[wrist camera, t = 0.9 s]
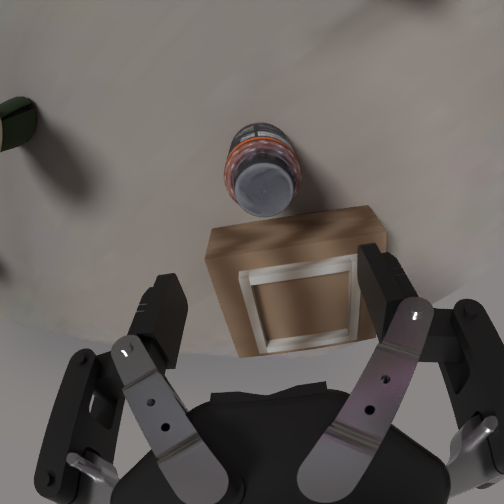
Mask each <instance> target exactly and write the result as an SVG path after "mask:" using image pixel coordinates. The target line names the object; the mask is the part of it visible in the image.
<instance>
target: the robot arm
mask: <svg viewBox="0 0 504 504" xmlns="http://www.w3.org/2000/svg"><path fill="white" fill-rule="evenodd" d="M357 279H358V284H359V288H360V290H361V293H362V296H363V298H364V301H365V304H366V306H367V309H368V312H369V314H370V317H371V320H372V323H373V325H374V328H375V331H376V334H377V337H378V339H379V343H378V345H377V346H376V348H375V350H374V353H373V354H372V356H371V358H370V360H369V362H368V364H367V366H366V368H365V369H364V371H363V373H362V375H361V377H360V378H359V380H358V382H357V384H356V386H355V388H354V389H353V391H352V392H351V394H348V393H346V392H343V391H339V390H333V389H327V385H326V381H324V382H318V383H311V384H304V385H297V386H295V387H292V388H289V389H286V390H283V391H280V392H277V393H274V394H271V395H258V394H250V393H244V392H224V393H211V398H210V401H209V402H206V403H203V404H201V405H199V406H197V407H195V408H194V409H192V410H190V411H188V409H187V408H186V407H185V405H184V404H183V402H182V401H181V399H180V398H179V396H178V395H177V393H176V392H175V390H174V389H173V387H172V386H171V384H170V382H169V381H168V379H167V378H166V376H165V371H166V369H175V367H176V363H177V357H178V353H179V348H180V344H181V339H182V335H183V330H184V326H185V321H186V317H187V312H188V303H187V299H186V297H185V294H184V292H183V290H182V287H181V285H180V283H179V280H178V278H177V276H176V274H175V273H170V274H164V275H158V276H157V278H156V281H155V283H154V286H153V287H150V288H149V289H148V290H147V291H146V292H145V293H144V294H143V296H142V298H141V301H140V303H139V306H138V308H137V312H136V313H135V316H134V319H133V321H132V324H131V326H130V329H129V332H128V334H127V335H126V336H123V337H121V338H120V339H118V340H117V341H116V342H115V343H114V345H113V346H112V349H111V351H109V352H106V353H103V354H100V355H97V356H96V355H95V353H94V352H93V351H92V350H91V349H82V350H79V351H78V352H76V353H75V354H74V355H73V356H72V358H71V359H70V361H69V364H68V367H67V369H66V372H65V375H64V377H63V380H62V383H61V386H60V389H59V391H58V394H57V397H56V400H55V403H54V406H53V409H52V412H51V415H50V419H49V423H48V425H47V429H46V432H45V436H44V439H43V443H42V447H41V450H40V454H39V458H38V463H37V467H36V471H35V475H34V485H35V488H36V490H37V492H38V493H39V494H40V495H41V496H43V497H45V498H47V499H49V500H52V501H54V502H56V503H57V504H447V501H448V499H449V498H451V497H454V496H456V495H459V494H461V493H464V492H466V491H469V490H471V489H474V488H478V489H485V488H488V487H489V486H492V485H493V484H495V483H497V482H499V481H501V480H503V479H504V344H503V342H502V341H501V339H500V337H499V335H498V333H497V331H496V329H495V327H494V325H493V323H492V322H491V320H490V318H489V316H488V314H487V313H486V311H485V309H484V307H483V306H482V305H481V304H480V303H479V302H477V301H475V300H472V299H463V300H460V301H458V302H457V303H456V304H455V306H454V309H436V308H433V306H432V305H431V303H430V302H429V301H427V300H426V299H424V298H421V297H418V295H417V293H416V291H415V289H414V288H413V286H412V284H411V282H410V280H409V279H408V277H407V275H406V274H405V272H404V270H403V268H401V265H400V263H399V262H398V260H397V258H395V257H394V256H393V255H391V254H390V253H388V252H385V253H381V252H380V250H379V248H378V246H377V245H376V243H368V244H362V245H358V248H357ZM418 362H438V364H439V367H440V369H441V372H442V375H443V378H444V381H445V384H446V388H447V390H448V394H449V397H450V400H451V404H452V407H453V411H454V414H455V417H456V421H457V425H458V429H459V431H458V432H457V433H456V434H455V435H454V437H453V438H452V441H451V444H450V458H449V461H448V463H447V465H446V466H445V464H444V463H443V462H442V461H441V460H440V459H439V458H438V457H437V456H435V455H434V454H432V453H431V452H430V451H428V450H427V449H425V448H424V447H423V446H421V445H420V444H418V443H417V442H416V441H414V440H413V439H411V438H410V437H409V436H407V435H406V434H405V433H403V432H402V431H400V430H399V429H398V428H396V427H395V426H394V425H392V424H391V423H392V421H393V419H394V417H395V415H396V413H397V410H398V408H399V406H400V404H401V402H402V399H403V397H404V395H405V393H406V390H407V388H408V386H409V383H410V381H411V378H412V375H413V373H414V371H415V368H416V366H417V363H418ZM92 394H93V395H94V396H95V397H94V401H93V404H92V409H91V412H89V405H90V401H91V398H92ZM125 398H126V400H127V402H128V404H129V406H130V408H131V410H132V412H133V414H134V416H135V419H136V420H137V422H138V424H139V426H140V428H141V430H142V432H143V434H144V436H145V438H146V440H147V441H148V443H149V445H150V447H151V450H150V451H149V452H148V453H147V454H146V455H145V456H144V457H143V458H142V459H141V460H140V461H139V462H138V463H137V464H136V465H135V466H134V467H133V468H132V469H131V470H130V471H129V472H128V473H127V474H126V475H124V476H123V477H122V478H121V479H120V480H119V478H118V474H117V470H116V468H115V467H114V466H113V460H114V454H115V448H116V442H117V436H118V431H119V426H120V421H121V416H122V411H123V406H124V402H125Z"/></svg>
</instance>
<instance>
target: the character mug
mask: <svg viewBox="0 0 504 504" xmlns="http://www.w3.org/2000/svg"><path fill="white" fill-rule="evenodd" d="M30 103H31V102H30V100H28V99H27V98H25V97H14V98H12V99H10V100H7V101H5V102H3V103H2V104H0V152H2V151H6V150H9V149H12V148H15V147H18V146H20V145H22V144H24V143H26V142H27V141H28V140H29V139H30V137H31V136H32V134H33V133H34V130H35V125H36V114H35V110H34V109H32V110H29V111H27V109H26V108H25V106H26V105H28V104H30Z"/></svg>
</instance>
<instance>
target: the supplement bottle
mask: <svg viewBox="0 0 504 504" xmlns="http://www.w3.org/2000/svg"><path fill="white" fill-rule="evenodd" d="M301 180H302V172H301V167H300V163H299V161H298V159H297V156H296V154H295V152H294V150H293V149H292V147H291V145H290V143H289V141H288V139H287V137H286V136H285V134H284V133H283V132H282V131H281V130H280V129H278V128H277V127H275V126H273V125H271V124H267V123H254V124H250V125H248V126H246V127H244V128H243V129H241V130H240V131H239V132H238V133H237V134H236V136H235V137H234V139H233V141H232V143H231V146H230V150H229V154H228V157H227V161H226V165H225V170H224V182H225V186H226V189H227V191H228V193H229V195H230V196H231V198H232V199H233V200H234V201H235V202H236V203H237V204H239V205H240V206H241V208H242V209H244V210H245V211H246V212H247V213H249V214H251V215H254V216H258V217H270V216H275V215H277V214H279V213H281V212H282V211H283V210H285V209H286V208H287V207H288V205H289V204H290V202H291V201H292V200H293V198H294V197H295V196H296V194H297V192H298V191H299V188H300V185H301Z"/></svg>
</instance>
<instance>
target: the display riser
mask: <svg viewBox="0 0 504 504" xmlns="http://www.w3.org/2000/svg"><path fill="white" fill-rule="evenodd" d="M386 242H387V231H386V230H385V228H384V227H383V225H382V224H381V222H380V221H379V219H378V218H377V217H376V215H375V214H374V212H373V211H372V209H371V208H370V207H369V205H366V206H359V207H351V208H344V209H337V210H330V211H323V212H316V213H309V214H302V215H295V216H289V217H282V218H276V219H269V220H263V221H257V222H250V223H244V224H238V225H232V226H226V227H220V228H214V229H212V231H211V235H210V239H209V243H208V247H207V251H206V255H205V262H206V265H207V268H208V271H209V274H210V277H211V280H212V283H213V286H214V289H215V292H216V295H217V297H218V300H219V303H220V306H221V309H222V312H223V314H224V317H225V320H226V323H227V326H228V328H229V331H230V334H231V337H232V339H233V342H234V345H235V347H236V350H237V353H238V355H239V358H243V357H253V356H263V355H272V354H280V353H288V352H295V351H302V350H309V349H316V348H322V347H329V346H334V345H340V344H346V343H351V342H357V341H362V340H367V339H372V338H375V337H376V331H375V328H374V325H373V323H372V320H371V317H370V314H369V312H368V309H367V306H366V304H365V301H364V298H363V296H362V293H361V290H360V288H359V284H358V279H357V248H358V245H362V244H368V243H376V245H377V246H378V248H379V250H380V252H381V253H385V252H386Z"/></svg>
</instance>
